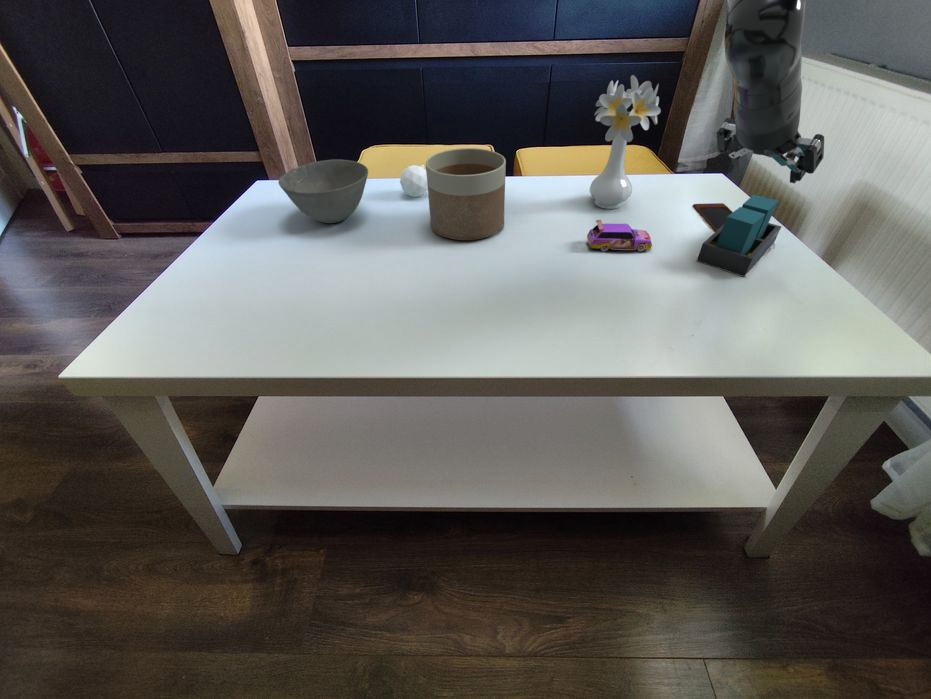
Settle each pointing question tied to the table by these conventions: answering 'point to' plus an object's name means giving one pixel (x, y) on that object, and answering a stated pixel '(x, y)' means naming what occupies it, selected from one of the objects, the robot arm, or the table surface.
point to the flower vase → (621, 137)
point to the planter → (466, 193)
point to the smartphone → (713, 214)
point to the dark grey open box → (734, 259)
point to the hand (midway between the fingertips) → (767, 171)
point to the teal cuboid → (761, 210)
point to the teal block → (740, 230)
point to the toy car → (618, 237)
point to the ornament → (414, 180)
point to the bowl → (326, 188)
